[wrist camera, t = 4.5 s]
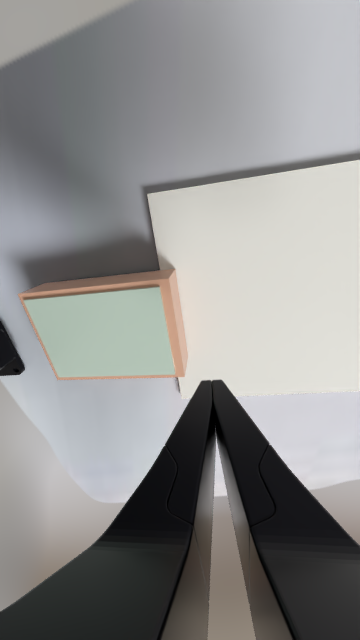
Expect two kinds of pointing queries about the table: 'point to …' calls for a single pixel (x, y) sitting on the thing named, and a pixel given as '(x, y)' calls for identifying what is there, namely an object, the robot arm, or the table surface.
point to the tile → (110, 326)
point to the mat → (267, 279)
